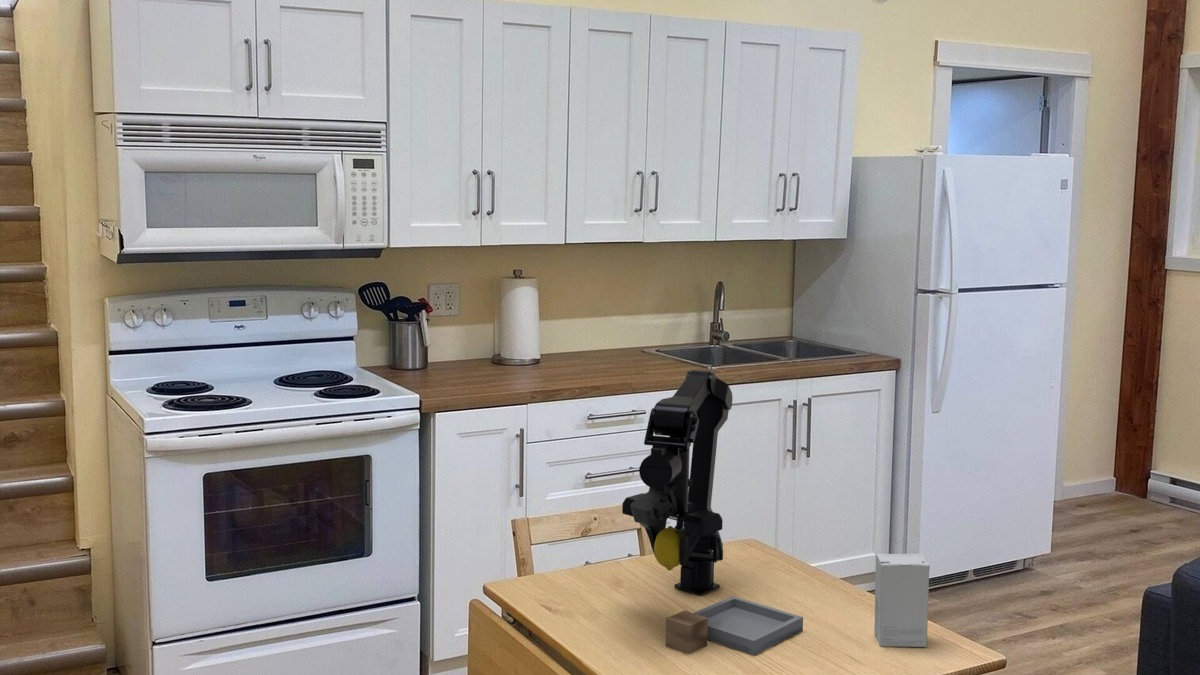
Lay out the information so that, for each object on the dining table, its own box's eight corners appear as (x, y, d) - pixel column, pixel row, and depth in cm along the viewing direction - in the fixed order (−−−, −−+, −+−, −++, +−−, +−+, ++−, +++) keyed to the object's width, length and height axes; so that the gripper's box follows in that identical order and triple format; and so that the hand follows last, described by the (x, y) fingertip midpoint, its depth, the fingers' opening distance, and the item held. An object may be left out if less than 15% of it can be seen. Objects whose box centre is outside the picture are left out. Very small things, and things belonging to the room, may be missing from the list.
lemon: (682, 577, 205) (683, 532, 204) (650, 574, 206) (651, 529, 205) (687, 566, 210) (688, 523, 209) (657, 563, 211) (657, 520, 210)
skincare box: (920, 635, 206) (924, 552, 204) (927, 649, 200) (932, 564, 198) (871, 633, 206) (875, 551, 204) (877, 647, 200) (881, 562, 198)
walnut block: (683, 638, 203) (684, 610, 202) (707, 646, 200) (707, 617, 199) (665, 646, 199) (665, 618, 199) (689, 654, 196) (689, 625, 195)
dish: (732, 609, 217) (732, 596, 216) (802, 630, 207) (803, 617, 207) (681, 631, 206) (682, 617, 205) (753, 655, 196) (753, 641, 195)
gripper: (601, 472, 206) (600, 558, 209) (683, 493, 194) (680, 585, 196) (644, 461, 214) (642, 545, 217) (725, 481, 201) (723, 570, 204)
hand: (670, 561), depth 208 cm, fingers closed on lemon, 5 cm apart
